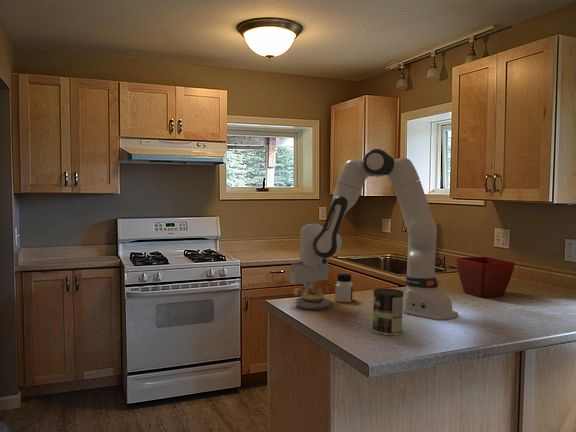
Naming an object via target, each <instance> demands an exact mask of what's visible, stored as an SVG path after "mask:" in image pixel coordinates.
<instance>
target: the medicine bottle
mask: <svg viewBox="0 0 576 432" xmlns="http://www.w3.org/2000/svg"><path fill="white" fill-rule="evenodd" d="M336 280H337V281H336V282H337V283H336V284H335V285H334V301H335V302H341V303H352V300H353V293H354V292H353V291H354V290H353V287H354V286H353V285H354V284H353V282H352V274H351V273H348V272H340V273H337V279H336Z"/></svg>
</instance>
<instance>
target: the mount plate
mask: <svg viewBox="0 0 576 432" xmlns="http://www.w3.org/2000/svg"><path fill="white" fill-rule="evenodd" d="M295 300H296V302H295V303H296V305H295V306H296V308H297V309H301V310H305V311H323V310H324V311H325V310H328V309H330V305H331V301H330V299H328V298H326V297H324V300H323V301H320V302H308V301H304V300H302V296H301V297H298V298H296V299H295Z"/></svg>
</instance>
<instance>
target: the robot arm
mask: <svg viewBox="0 0 576 432" xmlns="http://www.w3.org/2000/svg"><path fill="white" fill-rule="evenodd" d="M384 176H387V177H388V179H389V180H390V182H391V184H392V187H393V191H394V194H395V197H396V199H397V201H398V205H399V208H400V212H401V214H402V218H403V222H404V224H405V227H406V231H407V235H408V241H407V256H406V257H407V259H406V260H407V261H406V262H407V263H406V265H407V266H406V275H405V283H404V284H405V295H404V298H403V311H402V314H408V315H410V316H411V315H412V316H416V317H422V318H425V319H426V318H427V319H432V320H437V321H441V320H443V321H446V320H450V319H455V318H457V317H458V316H459V312H458V311H454V310H453V303H452V300H451V299H450V297H449V296H448V295H447V294H446V293H445V292H444V291H442V289H441V288H439V284H440V283H441V279H438V280H437V277H435V276H436V245H437V244H436V242H437V240H436V239H437V237H436V235H437V225H436V223H435V219H434V217H433V214H432V211H431V208H430V206H429V202H428V199H427V197H426V193H425V191H424V188H423V185H422V181H421V180H420V176H419V174H418V172H417V170H416V167H415V166H414V164H413V162H412V161H411V160H410V159H409V158H407V157H399V158H395V159H394V158H393V157H392V156H391V155H390V154H388V152H387V151H385V150H383V149H380V148H373V149H370V150H368V151H367V152H366V153H365V154H364V156H363V158H362V160H360V159H354V158H353V159H349V160H347V161H346V162H345V163H344V165H343V167H342V168H341V170H340V172H339V176H338V178H337V180H336V184H335V187H334V190H333V196H332V200H331V204H330V208H329V211H328V213H327V216H326V219H325V222H324V224H323V226H321V224H319V223H317V222H315V223H314V222H311V223H307V224H304V225H302V227H301V230H300V236H299V245H300V250H299V261H294V262H293V263H292V264H291V265H290V271H289V283H291V284H293V285H297V284H303V287H304V290H305V289H311V291H314V290H313V288H314V287H315V285H316V282H319V281H324V280H325V281H326V280H328V278H329V274H330V273H329V265H328V263H329V258H331V257H333V256H334V255H335V254H336V253H337V252H339V250H341V248H342V245H343V240H342V237H341V235H340V234H338V233H339V230H340V228H341V224H342V222H343V219H344V217H345V215H346V213H348V211H349V210H350V209H351V208H353V206H355V205H356V203H357V201H358V199H359V198H360V196H361V194H362V191H363V190H362V189H363V187H364V184H365V181H366V180H367V179H368V178H369V177H384Z"/></svg>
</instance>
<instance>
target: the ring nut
mask: <svg viewBox="0 0 576 432" xmlns="http://www.w3.org/2000/svg"><path fill="white" fill-rule="evenodd" d="M293 295H296V296H301V297H302V300H304V301H308V302H320V301H323V300H324V298H325V294H324V292H323V289H321V288H320V289H319V288H317V289H315V291H314V290H313V291H311V289H305V288H304V289H302V288H297V287H296V288H293Z"/></svg>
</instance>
